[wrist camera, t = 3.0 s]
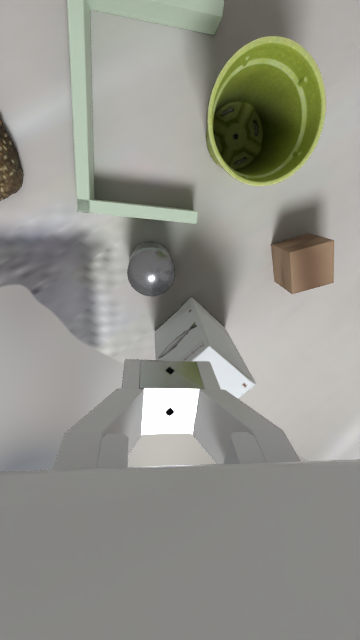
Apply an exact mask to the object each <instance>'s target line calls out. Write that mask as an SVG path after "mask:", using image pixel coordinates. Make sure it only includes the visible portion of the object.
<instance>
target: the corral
mask: <svg viewBox="0 0 360 640" xmlns="http://www.w3.org/2000/svg"><path fill="white" fill-rule="evenodd" d="M67 5H68V26H69V47H70V67H71V88H72V109H73V130H74V150H75V171H76V192H77V212H85V213H95V214H105V215H115V216H124V217H134V218H144V219H154V220H164V221H173V222H183V223H193V224H196V223H197V215H198V212H197V211H195V210H190V209H181V208H172V207H162V206H153V205H144V204H135V203H126V202H117V201H107V200H98V199H95V196H94V153H93V110H92V67H91V23H90V10H95V11H100V12H104V13H109V14H114V15H119V16H124V17H129V18H134V19H138V20H143V21H148V22H153V23H158V24H163V25H167V26H172V27H177V28H182V29H187V30H192V31H197V32H201V33H206V34H211V35H214V34H215V32H216V30H217V28H218V25H219V23H220V21H221V19H222V15H223V7H224V0H67Z"/></svg>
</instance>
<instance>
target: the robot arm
mask: <svg viewBox="0 0 360 640" xmlns="http://www.w3.org/2000/svg"><path fill="white" fill-rule="evenodd" d="M158 433H191V434H192V435H193V436H194V437H195V438H196V440H197V441H198V442H199V443H200V444H201V446H202V447H203V448H204V449H205V450H206V452H207V453H208V454H209V455H210V456H211V457H212V459H213V460H214V461H215V462H216V464H208V465H179V466H151V467H150V466H149V467H127V464H128V455H129V453H130V452H131V450H132V449H133V447H134V446H135V445H136V443H137V441H138V440H139V439H140V437H141V435H142V434H158ZM0 640H360V459H358V460H332V461H303V462H302V461H300V459H299V457H298V456H297V454H296V452H295V450H294V449H293V447H292V445H291V444H290V442H289V440H288V438H287V437H286V435H285V433H284V431H283V430H281V429H280V428H279V427H277V426H276V425H274V424H273V423H272V422H270V421H269V420H267V419H266V418H264V417H263V416H262V415H260V414H259V413H257V412H256V411H255V410H253V409H252V408H250V407H249V406H248V405H246V404H245V403H243V402H242V401H240V400H239V399H238V398H236V397H235V396H233V395H232V394H231V393H229V392H228V391H226V390H221V388H220V386H219V383H218V381H217V378H216V375H215V373H214V370H213V368H212V365H211V363H210V362H209V361H160V360H139V359H125V362H124V371H123V380H122V389H116V390H115V391H114V392H113V393H112V394H110V395H109V396H108V397H107V398H105V399H104V400H103V401H102V402H101V403H100V404H98V405H97V406H96V407H95V408H94V409H93V410H91V411H90V412H89V413H88V414H87V415H85V416H84V417H83V418H82V419H81V420H80V421H79V422H77V423H76V424H75V425H74V426H73V427H71V428H70V429H69V430H68V431H67V432H66V433H65V434H64V437H63V440H62V443H61V445H60V448H59V452H58V455H57V458H56V461H55V464H54V466H53V469H52V470H31V471H3V472H2V471H1V472H0Z"/></svg>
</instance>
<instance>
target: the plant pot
mask: <svg viewBox="0 0 360 640" xmlns="http://www.w3.org/2000/svg"><path fill="white" fill-rule="evenodd" d="M229 108H234V111H233V112H230V113H227V114H225V115H224V116H222V113H223V112H224V111H225V110H227V109H229ZM325 112H326V97H325V88H324V83H323V79H322V76H321V73H320V70H319V68H318V66H317V65H316V63H315V61H314V59H313V58H312V56H311V55H310V54H309V53H308V52H307V51H306V50H305V49H304V48H303V47H302V46H301V45H300V44H299V43H297V42H295V41H293V40H291V39H288V38H285V37H280V36H266V37H261V38H258V39H256V40H254V41H251V42H249V43H248V44H246V45H244V46H243V47H241V48H240V49H239V50H238V51H237V52H236V53H235V54H233V56H232V57H231V58H230V59H229V60H228V61H227V63H226V64H225V65H224V67H223V69H222V70H221V72H220V74H219V75H218V77H217V79H216V82H215V84H214V87H213V89H212V92H211V96H210V100H209V105H208V114H207V127H208V129H207V135H206V141H207V148H208V151H209V153H210V156H211V157H212V159H213V160H214V162H215V163H216V164H218V165H219V166H220V167H222V168H224V170H225V171H226V172H227V173H228V174H229V175H231V176H232V177H233V178H235V179H236V180H238V181H240V182H242V183H245V184H248V185H252V186H268V185H272V184H276V183H278V182H281V181H283V180H285V179H287V178H288V177H290V176H291V175H293V174H294V173H295V172H296V171H298V170H299V169H300V168H301V167H302V166H303V165H304V164H305V162H306V161H307V159H308V158H309V157H310V155H311V154H312V152H313V150H314V149H315V147H316V145H317V143H318V140H319V138H320V135H321V132H322V129H323V125H324V120H325ZM253 121H255V122H256V123H257V126H258V135H257V136H256V135H255V130H254V125H253ZM234 134H237V135H238V138H237V139H236V140H235V139H233V136H234ZM245 157H246V161H244V162H242V163H241V164H237V165H236V164H235V161H239V160H241V159H243V158H245Z"/></svg>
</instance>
